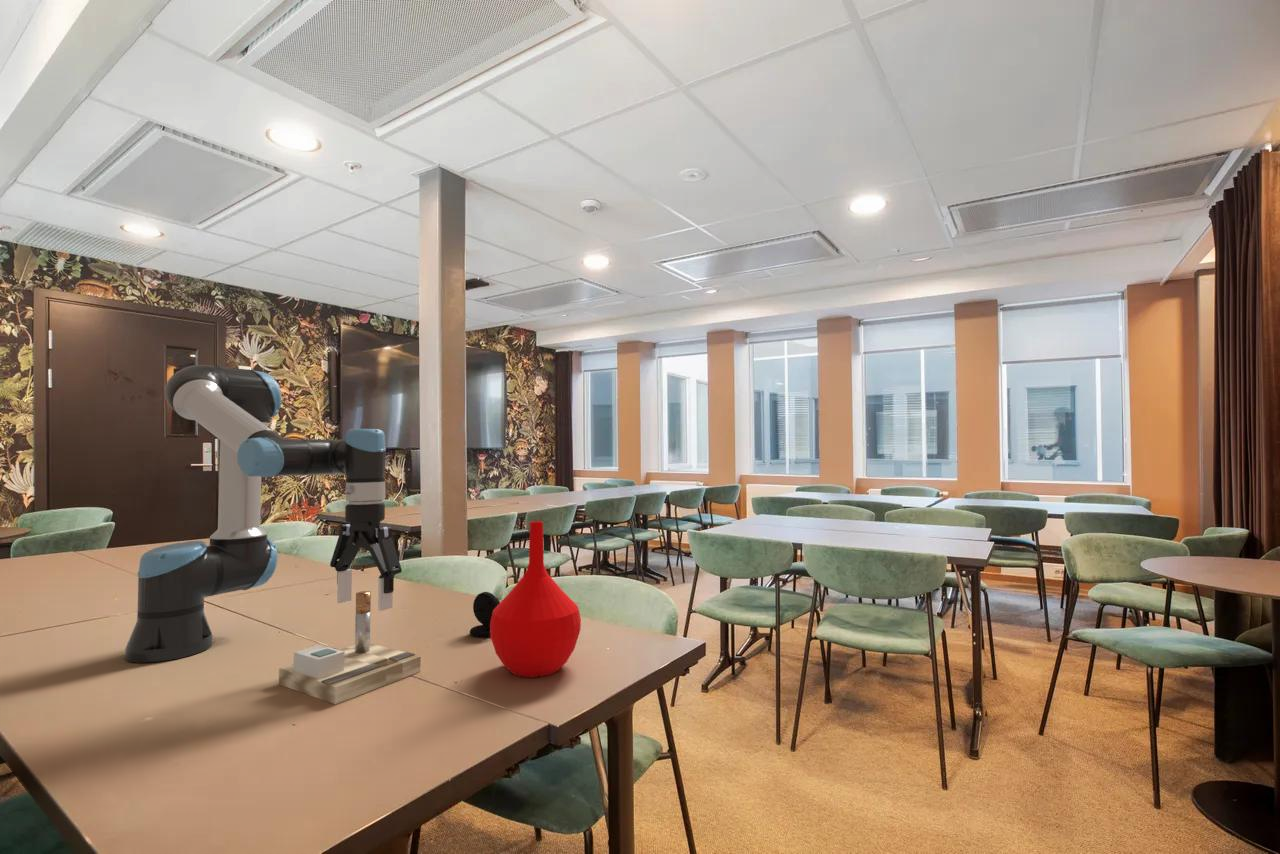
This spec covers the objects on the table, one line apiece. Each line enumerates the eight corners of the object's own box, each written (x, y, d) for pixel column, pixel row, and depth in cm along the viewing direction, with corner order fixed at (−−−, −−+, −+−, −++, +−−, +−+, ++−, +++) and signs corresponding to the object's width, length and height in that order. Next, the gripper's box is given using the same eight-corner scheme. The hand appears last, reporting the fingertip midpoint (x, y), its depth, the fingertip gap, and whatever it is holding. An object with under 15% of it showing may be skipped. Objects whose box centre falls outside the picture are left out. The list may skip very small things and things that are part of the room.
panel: (278, 684, 112) (279, 667, 112) (364, 655, 128) (364, 640, 128) (335, 704, 103) (335, 685, 103) (420, 671, 118) (420, 655, 119)
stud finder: (293, 671, 111) (293, 651, 111) (319, 662, 115) (319, 643, 115) (318, 679, 107) (318, 658, 107) (344, 670, 111) (344, 650, 111)
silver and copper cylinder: (351, 652, 121) (353, 593, 122) (364, 648, 124) (365, 590, 124) (360, 654, 120) (361, 594, 120) (372, 650, 122) (373, 592, 123)
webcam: (508, 632, 145) (508, 591, 145) (485, 640, 138) (485, 597, 139) (486, 627, 149) (486, 587, 149) (462, 634, 142) (463, 593, 143)
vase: (596, 660, 125) (597, 519, 126) (548, 692, 108) (549, 529, 109) (525, 648, 132) (526, 515, 134) (469, 677, 116) (471, 524, 117)
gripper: (313, 502, 126) (311, 602, 125) (388, 505, 114) (387, 617, 112) (345, 499, 133) (344, 595, 132) (420, 502, 120) (419, 608, 119)
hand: (364, 605), depth 122 cm, fingers open, 13 cm apart
